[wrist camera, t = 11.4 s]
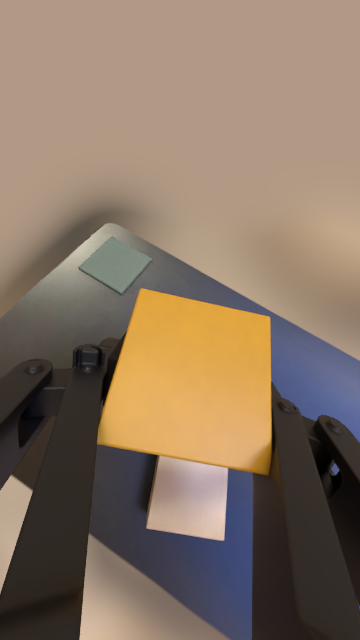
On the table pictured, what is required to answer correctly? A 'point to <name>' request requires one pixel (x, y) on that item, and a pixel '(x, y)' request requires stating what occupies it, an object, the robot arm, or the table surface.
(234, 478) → the table surface
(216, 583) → the table surface
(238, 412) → the yellow block
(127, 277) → the coaster
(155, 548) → the table surface
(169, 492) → the birch block
